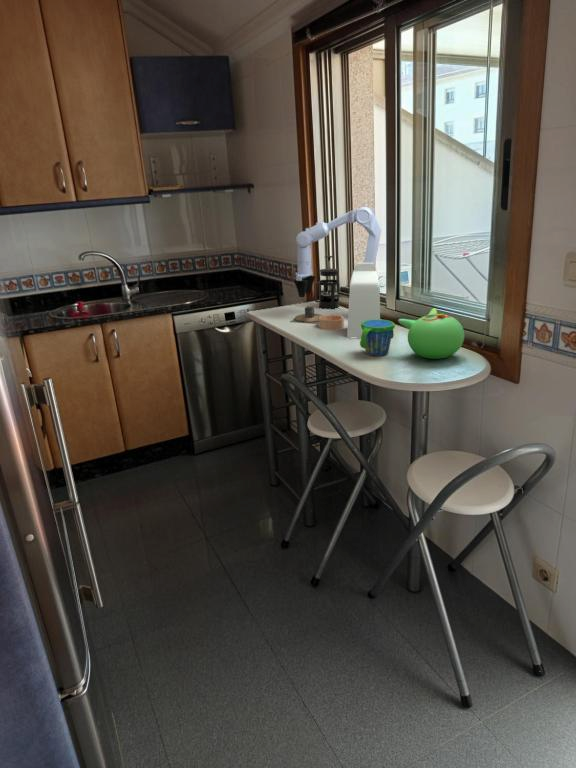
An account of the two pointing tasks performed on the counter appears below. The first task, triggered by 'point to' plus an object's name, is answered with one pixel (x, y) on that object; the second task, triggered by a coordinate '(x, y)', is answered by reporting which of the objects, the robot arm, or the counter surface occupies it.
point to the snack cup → (377, 336)
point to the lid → (308, 316)
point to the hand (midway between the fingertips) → (305, 295)
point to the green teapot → (434, 335)
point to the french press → (326, 302)
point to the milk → (363, 298)
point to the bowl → (331, 322)
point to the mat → (302, 322)
